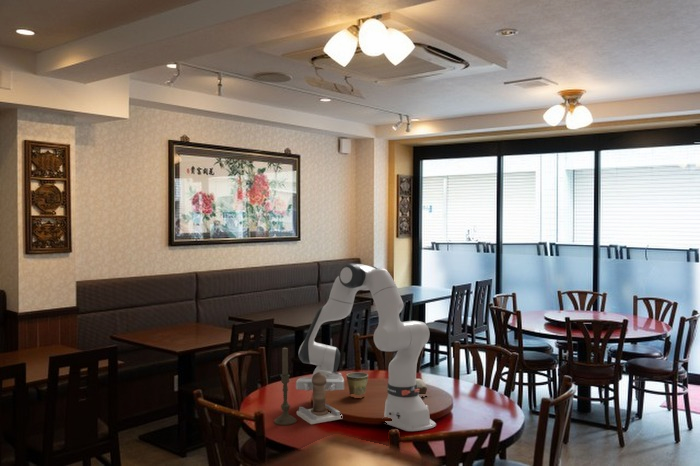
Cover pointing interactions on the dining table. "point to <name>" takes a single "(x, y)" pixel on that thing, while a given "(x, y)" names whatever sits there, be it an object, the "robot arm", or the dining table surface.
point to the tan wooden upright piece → (319, 394)
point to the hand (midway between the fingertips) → (318, 388)
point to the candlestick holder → (285, 393)
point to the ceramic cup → (357, 382)
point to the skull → (421, 386)
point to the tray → (314, 419)
